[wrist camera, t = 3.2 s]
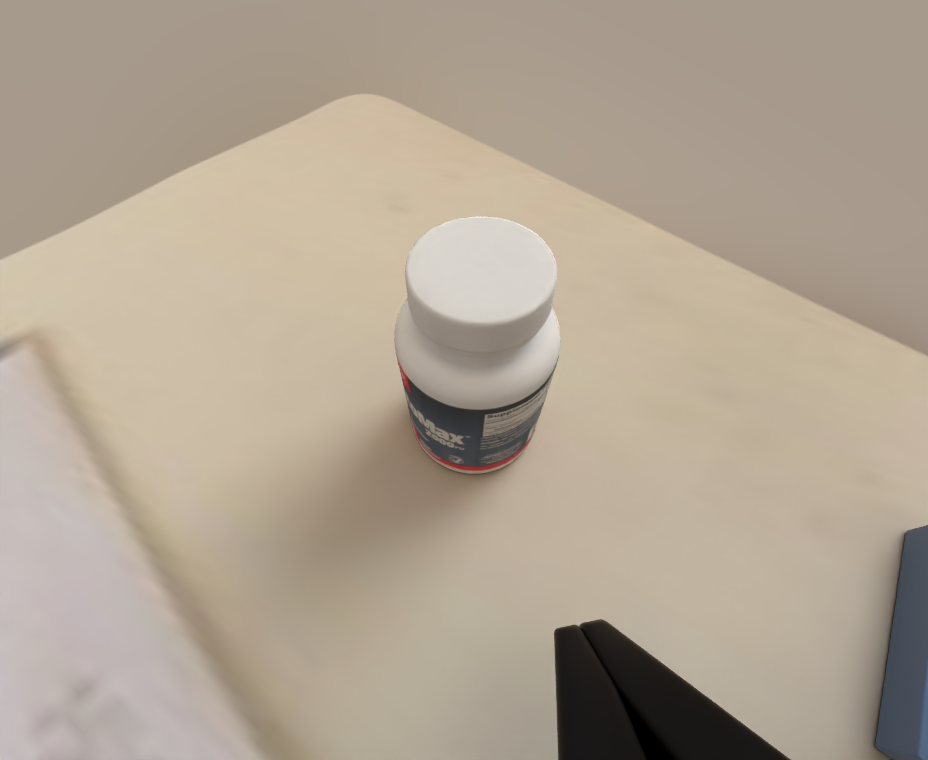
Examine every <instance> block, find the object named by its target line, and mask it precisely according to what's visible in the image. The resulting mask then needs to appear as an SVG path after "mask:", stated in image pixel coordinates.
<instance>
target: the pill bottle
mask: <svg viewBox="0 0 928 760" xmlns="http://www.w3.org/2000/svg"><path fill="white" fill-rule="evenodd" d="M405 277H406V287H407V300H406V301H405V303H404V304H403V306H402V308H401V310H400V312H399V315H398V317H397V321H396V325H395V338H394V339H395V350H396V355H397V360H398V365H399V368H400V372H401V376H402V381H403V385H404V390H405V394H406V398H407V403H408V407H409V412H410V417H411V422H412V426H413V429H414V433H415V435H416V438H417V440H418V442H419V444H420V445H421V447H422V448H423V449H424V451H425V452H426V453H427V454H428V455H429V456H430V457H431V458H432V459H433V460H435V461H436V462H437V463H439V464H441V465H442V466H444V467H446V468H448V469H451V470H454V471H458V472H462V473H469V474H479V473H487V472H491V471H495V470H497V469H500V468H502V467H504V466H506V465H508V464H510V463H511V462H512V461H514V460H515V459H516V458H517V457H518V456H519V455H520V454H521V453H522V452H523V451H524V450H525V448H526V447H527V446H528V444H529V442H530V440H531V438H532V435H533V433H534V431H535V427H536V424H537V422H538V419H539V416H540V413H541V410H542V407H543V404H544V401H545V398H546V395H547V392H548V389H549V386H550V383H551V380H552V376H553V373H554V370H555V367H556V364H557V361H558V357H559V350H560V328H559V323H558V320H557V317H556V314H555V312H554V310H553V308H552V304H553V296H554V292H555V287H556V282H557V265H556V261H555V258H554V255H553V253H552V251H551V250H550V248H549V247H548V245H547V244H546V243H545V242H544V241H543V239H542V238H541V237H539V236H538V235H537V234H536V233H534V232H533V231H531V230H530V229H528V228H526V227H524V226H522V225H520V224H517V223H515V222H513V221H509V220H506V219H501V218H496V217H484V216H474V217H465V218H459V219H455V220H451V221H448V222H446V223H443V224H440V225H438V226H436V227H435V228H433V229H431V230H430V231H428V232H427V233H425V234H424V235H423V236H422V237H421V238H420V239H419V240H418V241H417V242H416V243H415V244H414V246H413V247H412V249H411V251H410V253H409V255H408V258H407V261H406V267H405Z"/></svg>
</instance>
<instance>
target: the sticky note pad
mask: <svg viewBox="0 0 928 760" xmlns="http://www.w3.org/2000/svg"><path fill="white" fill-rule="evenodd" d="M875 746H876V748H877V749H878V750H880V751H881V752H883V753H884V754H886V755H887V756H889V757H890V758H892V759H894V760H928V525H926V526H923V527H919V528H915V529H912V530H908V531H906V535H905V542H904V549H903V556H902V563H901V570H900V577H899V584H898V591H897V598H896V605H895V612H894V619H893V626H892V633H891V640H890V647H889V653H888V660H887V667H886V674H885V681H884V688H883V695H882V702H881V709H880V716H879V723H878V730H877V737H876V744H875Z"/></svg>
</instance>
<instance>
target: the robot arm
mask: <svg viewBox="0 0 928 760" xmlns="http://www.w3.org/2000/svg"><path fill="white" fill-rule="evenodd" d="M554 641H555V671H556V701H557V732H558V760H790V759H789V758H788V757H786V756H785V755H784V754H782V753H781V752H780V751H778V750H777V749H776V748H774V747H773V746H772V745H770V744H769V743H768V742H766V741H765V740H764V739H762V738H761V737H760V736H758V735H757V734H756V733H754V732H753V731H752V730H750V729H749V728H748V727H746V726H745V725H744V724H742V723H741V722H740V721H738V720H737V719H736V718H734V717H733V716H732V715H730V714H729V713H728V712H726V711H725V710H724V709H722V708H721V707H720V706H718V705H717V704H716V703H714V702H713V701H712V700H710V699H709V698H708V697H706V696H705V695H704V694H702V693H701V692H700V691H698V690H697V689H696V688H694V687H693V686H692V685H690V684H689V683H688V682H686V681H685V680H684V679H682V678H681V677H680V676H678V675H677V674H676V673H674V672H673V671H672V670H670V669H669V668H668V667H666V666H665V665H664V664H662V663H661V662H660V661H658V660H657V659H656V658H654V657H653V656H652V655H650V654H649V653H648V652H646V651H645V650H644V649H642V648H641V647H640V646H638V645H637V644H636V643H634V642H633V641H632V640H630V639H629V638H628V637H626V636H625V635H624V634H622V633H621V632H620V631H618V630H617V629H616V628H614V627H613V626H612V625H610V624H609V623H608V622H606V621H604V620H595V621H590V622H585V623H582V624H581V625H580V626H577V625H571V626H566V627H561V628H557V629H556V630H555V632H554Z"/></svg>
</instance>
